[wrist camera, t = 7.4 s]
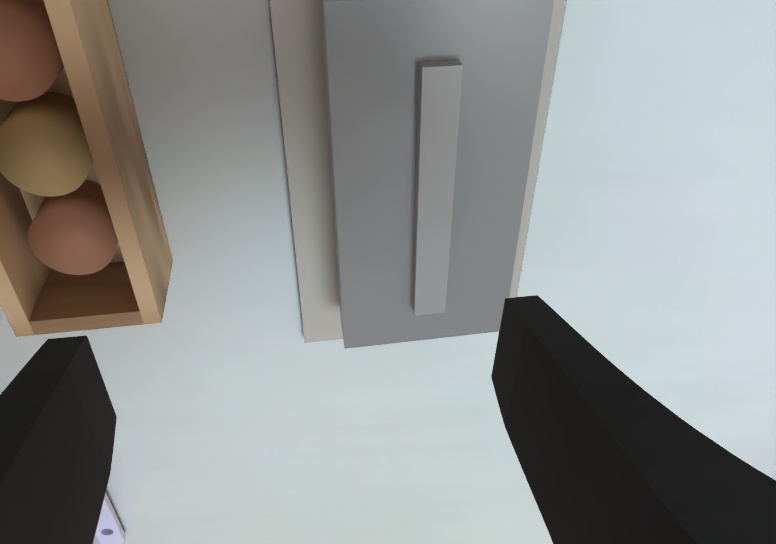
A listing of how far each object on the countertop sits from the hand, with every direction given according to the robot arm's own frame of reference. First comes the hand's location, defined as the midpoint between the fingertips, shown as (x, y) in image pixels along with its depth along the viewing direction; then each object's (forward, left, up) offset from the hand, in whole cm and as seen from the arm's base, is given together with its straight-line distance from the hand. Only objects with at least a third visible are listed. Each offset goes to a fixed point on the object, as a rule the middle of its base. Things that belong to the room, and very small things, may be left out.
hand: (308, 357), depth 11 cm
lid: (-1, -4, -9) cm, 10 cm away
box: (+1, +6, -10) cm, 11 cm away
